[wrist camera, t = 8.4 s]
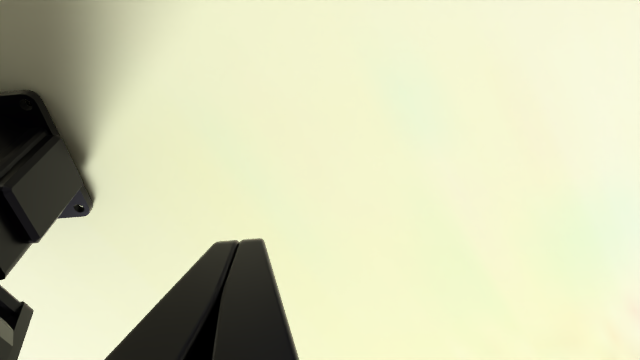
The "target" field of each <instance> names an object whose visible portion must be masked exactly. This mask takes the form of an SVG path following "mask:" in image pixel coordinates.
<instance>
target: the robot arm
mask: <svg viewBox="0 0 640 360" xmlns="http://www.w3.org/2000/svg"><path fill="white" fill-rule="evenodd" d="M25 100H27V101H29V102H30V103H31V104H32V106H29V105H28V104H27V103H26V102H25ZM78 204H79V205H82V206H83V207H81V206H79V205H78ZM92 208H93V203H92V201H91V199H90V197H89V195H88V192H87V190H86V188H85V186H84V184H83V181H82V178H81V176H80V174H79V172H78V170H77V168H76V166H75V164H74V162H73V160H72V158H71V156H70V154H69V152H68V150H67V148H66V146H65V144H64V142H63V140H62V138H61V137H60V135H59V133H58V131H57V129H56V127H55V125H54V123H53V121H52V119H51V117H50V115H49V113H48V111H47V109H46V107H45V105H44V103H43V101H42V99H41V98H40V96H39V95H38V94H36V93H35V92H33V91H30V90H22V91H11V92H1V93H0V280H3V279H5V278H6V276H7V275H8V274H9V272H10V271H11V270H12V269H13V267H14V266H15V265H16V264H17V262H18V261H19V260H20V258H21V257H22V256H23V255H24V253H25V252H26V251H27V250H28V248H29V247H30V246H31V244H32V243H38V242H39V241H40V240H41V239H42V238H43V236H44V235H45V234H46V232H47V231H48V230H49V228H50V227H51V226H52V225H53V223H54V222H55V221H56V219H57V218H69V217H82V216H87V215H88V214H89V213H90V211H91V210H92ZM32 314H33V309H31V308H30V307H29V306H28V305H27V304H26V303H25V302H19V301H18V300H17V299H16V298H15V297H14V296H12V295H11V294H10V293H9V292H8V291H7V290H6V289H4V288H3V287H2V286H1V285H0V360H17V359H18V356H19V353H20V350H21V347H22V344H23V341H24V338H25V335H26V332H27V329H28V326H29V323H30V320H31V317H32ZM105 360H299V358H298V354H297V351H296V348H295V344H294V341H293V337H292V334H291V331H290V327H289V324H288V320H287V317H286V314H285V310H284V307H283V303H282V300H281V297H280V293H279V290H278V286H277V283H276V280H275V276H274V273H273V269H272V266H271V263H270V259H269V256H268V252H267V249H266V246H265V242H264V240H263V239H260V238H259V239H246V240H242V241H241V242H238V241H237V240H232V241H219V242H216V243H214V244H213V245H212V246H211V247H210V248H209V249H208V250H207V252H206V253H205V254H204V255H203V256H202V257H201V258H200V259H199V260H198V261H197V262H196V263H195V264H194V265H193V266H192V267H191V268H190V270H189V271H188V272H187V273H186V274H185V275H184V276H183V277H182V278H181V279H180V280H179V281H178V282H177V283H176V284H175V285H174V286H173V288H172V289H171V290H170V291H169V292H168V293H167V294H166V295H165V296H164V297H163V298H162V299H161V300H160V301H159V302H158V303H157V304H156V306H155V307H154V308H153V309H152V310H151V311H150V312H149V313H148V314H147V315H146V316H145V317H144V318H143V319H142V320H141V321H140V323H139V324H138V325H137V326H136V327H135V328H134V329H133V330H132V331H131V332H130V333H129V334H128V335H127V336H126V337H125V338H124V339H123V341H122V342H121V343H120V344H119V345H118V346H117V347H116V348H115V349H114V350H113V351H112V352H111V353H110V354H109V355H108V356H107V357H106V359H105Z"/></svg>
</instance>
